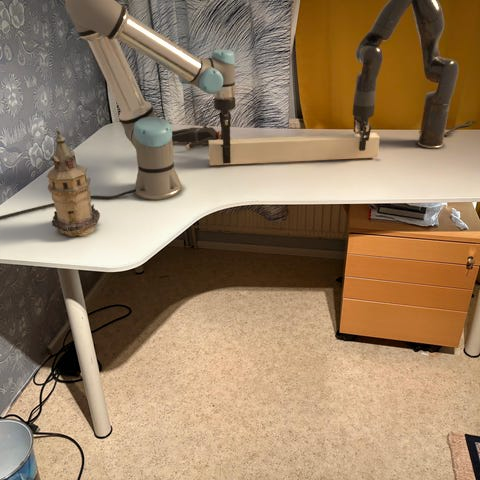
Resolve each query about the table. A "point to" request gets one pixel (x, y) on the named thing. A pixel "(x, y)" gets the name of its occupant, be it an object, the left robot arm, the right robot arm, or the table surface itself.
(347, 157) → the beam
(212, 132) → the toy
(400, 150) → the table surface
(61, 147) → the miniature building
